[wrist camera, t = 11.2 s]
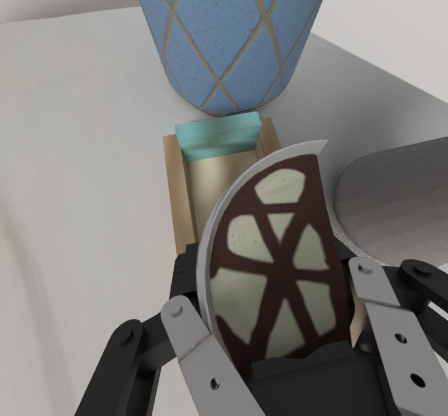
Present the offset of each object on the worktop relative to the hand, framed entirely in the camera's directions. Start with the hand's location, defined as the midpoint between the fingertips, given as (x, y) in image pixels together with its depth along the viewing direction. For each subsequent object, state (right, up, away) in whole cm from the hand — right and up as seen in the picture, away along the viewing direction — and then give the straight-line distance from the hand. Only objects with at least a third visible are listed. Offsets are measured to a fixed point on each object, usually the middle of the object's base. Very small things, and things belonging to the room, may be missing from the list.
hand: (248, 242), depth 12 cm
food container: (0, -3, +4) cm, 5 cm away
